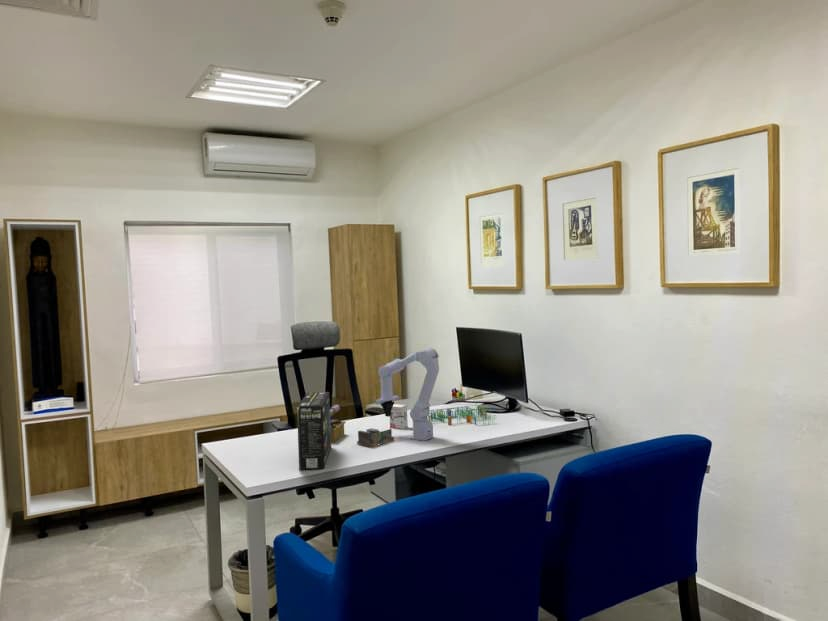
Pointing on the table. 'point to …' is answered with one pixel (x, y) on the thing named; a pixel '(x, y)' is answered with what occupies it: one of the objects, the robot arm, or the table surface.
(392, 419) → the ink box
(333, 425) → the geiger counter
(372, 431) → the gauge slider
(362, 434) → the stone ruin model
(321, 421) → the router box
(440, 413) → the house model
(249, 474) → the table surface
